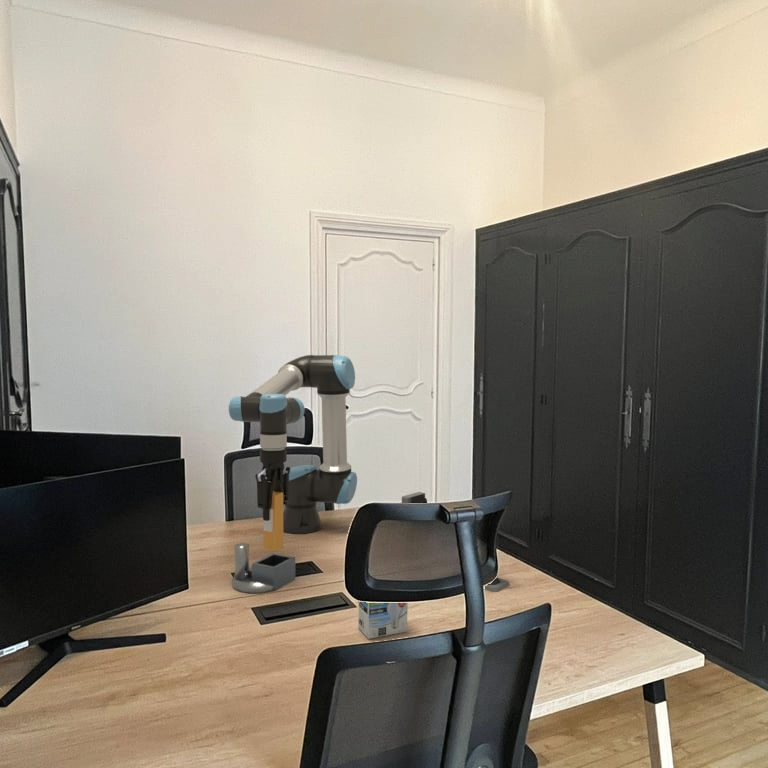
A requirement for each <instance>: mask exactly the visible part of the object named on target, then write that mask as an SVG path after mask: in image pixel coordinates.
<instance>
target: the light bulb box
mask: <svg viewBox="0 0 768 768" xmlns="http://www.w3.org/2000/svg"><path fill="white" fill-rule="evenodd" d="M408 604H409V603H366V602H359V601H358V622H357V623H358V626H357V627H358V629H359V630H360V631H361V633H363V635H364V636H365V637H366V638H367V639H368V640H370V639H371V640H372V639H375V638H376V639H377V638H380V637H381V638H382V637H386V636H390V635H396V634H401V633H402V634H403V633H407V632H408Z"/></svg>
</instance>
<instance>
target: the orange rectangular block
mask: <svg viewBox="0 0 768 768" xmlns="http://www.w3.org/2000/svg"><path fill="white" fill-rule="evenodd" d="M271 509H273V532H268V531H264V530H263V550H267V551H272V552H276V551H278V550H281V549H282V548H283V549H284V531H283V513H284V504H283V493H282V492H275V491H274V490H273V495H272V503H271Z"/></svg>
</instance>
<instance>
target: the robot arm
mask: <svg viewBox="0 0 768 768" xmlns="http://www.w3.org/2000/svg"><path fill="white" fill-rule="evenodd" d="M355 381H356V371H355V367H354V364H353V362H352V360H351V358H349V357H348V356H346V355H337V354H335V355H333V354H332V355H331V354H324V355H322V354H321V355H318V354H317V355H314V354H307V355H303V356H300V357H296V358H295V359H293V360H290V361H288V362H286V363H285V364H284V365H282V366H281V367H279V369H278V371H277V373H276V374H275V375H274V376H272V377H271V378H269V379H268V380H267V381H265V382H263V384H261V385H260V386H258V387H257V388H256V389H254V390H253V391H252V392H251V393H249V394H247V395H246V396H234V397H232V398H231V400H230V401H229V404H228V414H229V417H230V419H231V420H232V421H235V422H242V423H245V422H247V423H259V429H260V430H259V434H260V435H259V448H260V450H259V462H260V463H261V464H262V467H261V472H260V473H256V474H255V481H256V495H257V496H256V498H257V499H256V500H257V501H256V502H257V503H256V504H257V508H259V509H262V520H263V532H264V531H268V532H273V509H271V503H272V495H273V491H275V492H282V493H283V506H284V509H283V533H284V532H285V533H288V534H310V533H315V532H317V531H319V530H321V529H322V520H321V517H320V513H319V510H318V507H317V503H328V504H335V505H339V504H340V505H341V504H342V505H347V504H349V503H351V501H352V500H353V498H354V497H355V494H356V489H357V486H358V485H357V484H358V475H357V473H356V472H355V471H352V464H350V463H349V462H348V452H347V451H348V449H347V448H348V447H347V442H348V441H347V440H348V439H347V406H346V404H347V403H346V399H347V397H348V396H349V394H351V393H350V392H351V391H350V390H351V389H353V388H354V386H355V384H356V383H355ZM300 388H301V389H302V388H314V389H315V388H316V394H317V395H318V396H319V397H320V398H321V418H322V419H321V420H322V422H321V424H322V459H323V461H322V462H323V463H322V464H321V465H320V466H319V468H318V467H317V465H316V464H302V465H297V466H292V467H289V466H285V463H286V462H287V457H288V456H287V451H288V450H287V449H286V447H288V441H287V440H288V439H287V434H288V432H287V425H288V424H289V425H290V424H293V423H296V422H298V421H300V420H301V419H302V418H303V417H304V414H305V410H306V409H305V405H304V403H303V401H302V400H301V399H300V398H297V397H287V395H288V394H289V393H291V392H292V391H293V392H294V391H297V390H298V389H300Z"/></svg>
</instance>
